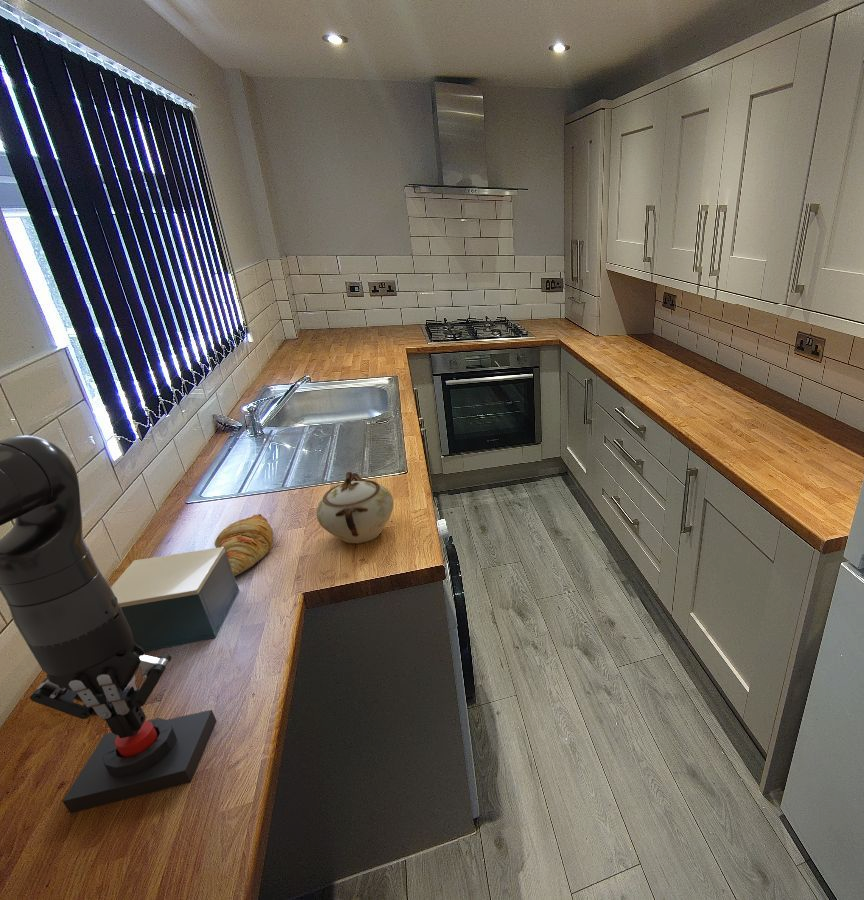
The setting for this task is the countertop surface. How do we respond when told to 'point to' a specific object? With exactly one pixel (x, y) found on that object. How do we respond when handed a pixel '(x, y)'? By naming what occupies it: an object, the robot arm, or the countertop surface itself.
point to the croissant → (246, 542)
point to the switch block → (142, 763)
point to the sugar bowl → (355, 509)
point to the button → (137, 741)
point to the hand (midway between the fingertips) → (132, 730)
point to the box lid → (165, 577)
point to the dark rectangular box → (185, 612)
